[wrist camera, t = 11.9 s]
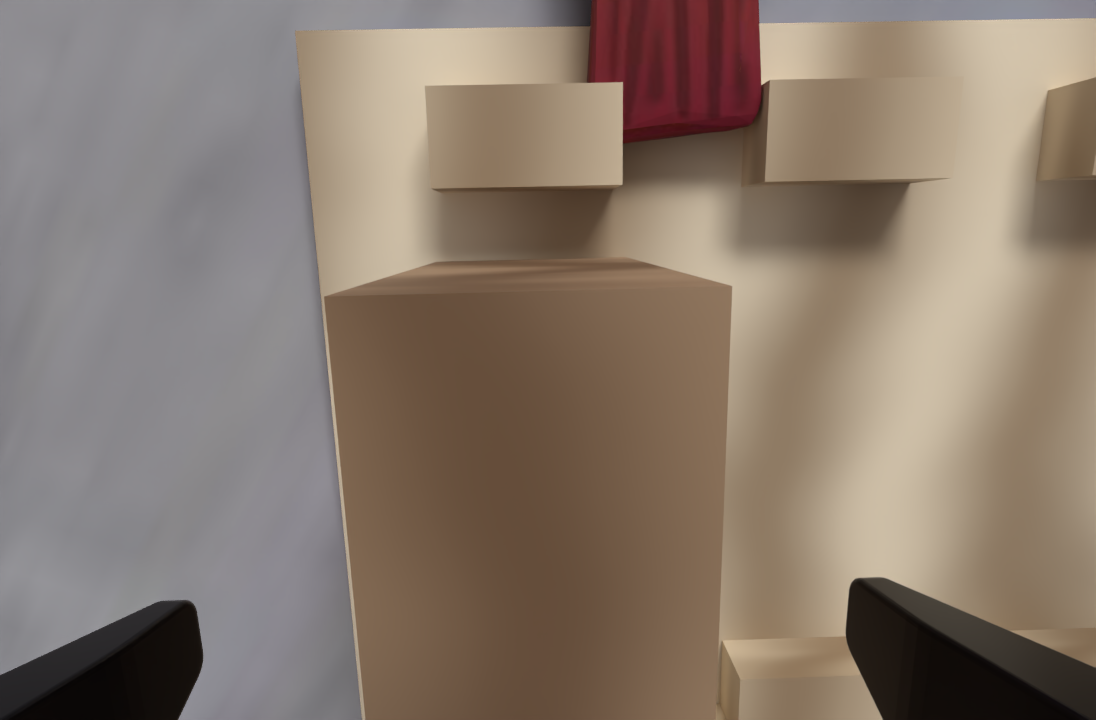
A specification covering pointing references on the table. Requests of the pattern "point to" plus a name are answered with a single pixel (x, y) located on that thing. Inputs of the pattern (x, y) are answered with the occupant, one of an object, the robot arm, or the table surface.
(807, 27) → the birch notch board
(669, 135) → the sign
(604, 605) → the brown wooden box
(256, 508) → the table surface
